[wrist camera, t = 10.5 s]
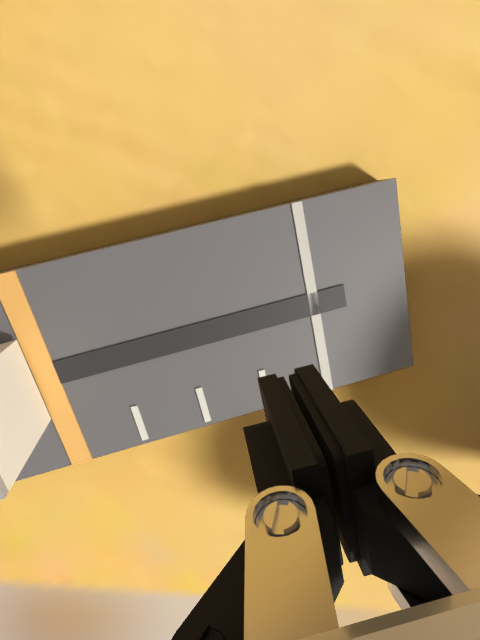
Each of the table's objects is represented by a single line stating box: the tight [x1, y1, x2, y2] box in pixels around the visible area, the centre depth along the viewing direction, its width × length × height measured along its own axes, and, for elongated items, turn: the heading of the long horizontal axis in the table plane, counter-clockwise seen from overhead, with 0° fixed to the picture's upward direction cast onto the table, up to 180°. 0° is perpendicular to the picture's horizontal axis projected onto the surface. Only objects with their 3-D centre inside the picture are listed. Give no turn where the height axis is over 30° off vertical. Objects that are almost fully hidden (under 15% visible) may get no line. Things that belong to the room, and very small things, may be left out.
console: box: [0, 178, 413, 481], centre depth 23 cm, size 12×30×2 cm, turn 103°
